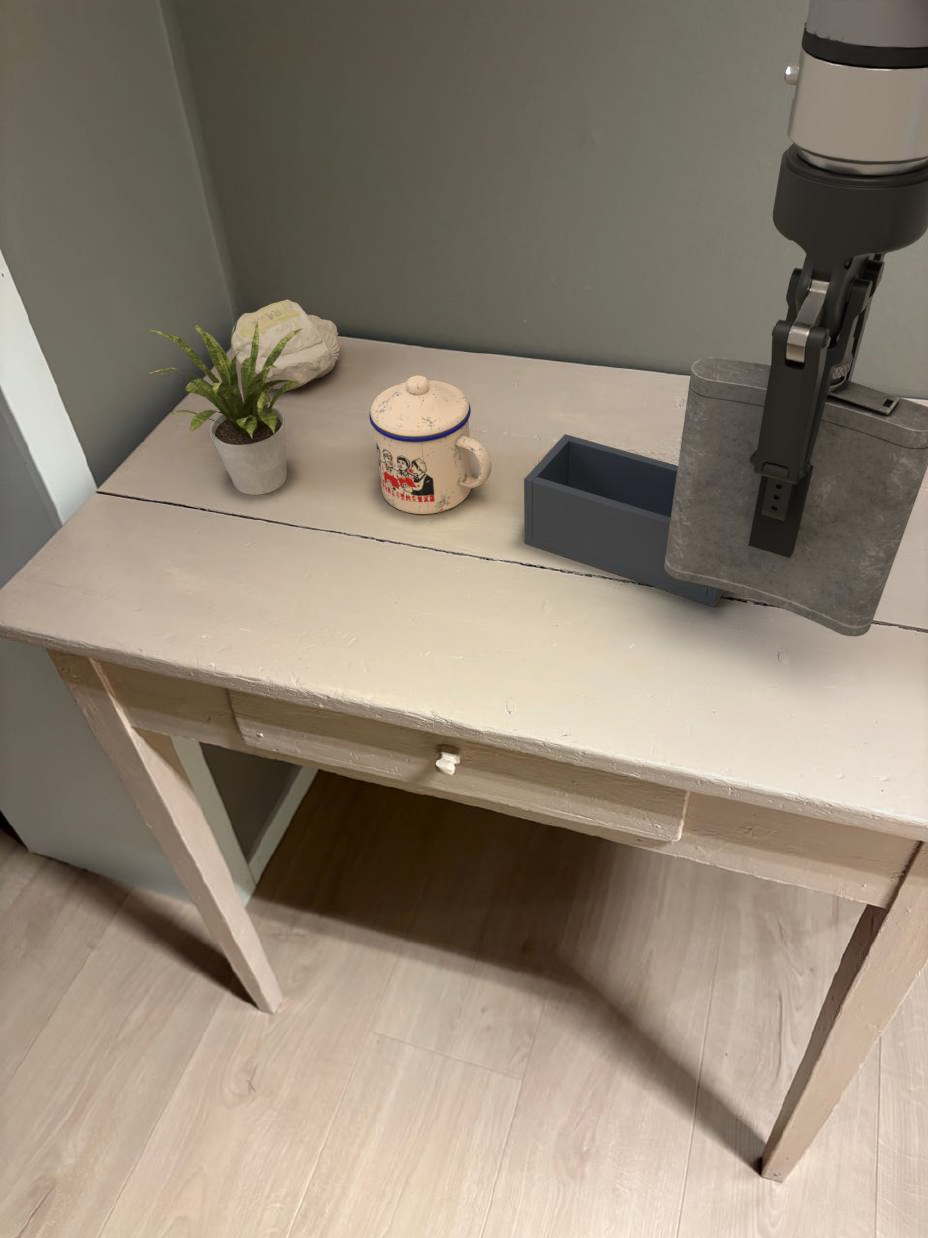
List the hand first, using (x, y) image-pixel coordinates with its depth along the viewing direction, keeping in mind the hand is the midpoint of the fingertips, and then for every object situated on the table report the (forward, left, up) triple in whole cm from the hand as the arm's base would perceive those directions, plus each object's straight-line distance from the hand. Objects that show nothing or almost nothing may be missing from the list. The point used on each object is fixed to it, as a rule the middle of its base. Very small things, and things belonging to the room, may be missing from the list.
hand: (781, 529), depth 62 cm
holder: (+14, -10, -14) cm, 22 cm away
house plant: (+51, -2, -15) cm, 53 cm away
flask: (0, 0, -6) cm, 6 cm away
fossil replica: (+59, -20, -15) cm, 64 cm away
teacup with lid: (+33, -9, -15) cm, 37 cm away
